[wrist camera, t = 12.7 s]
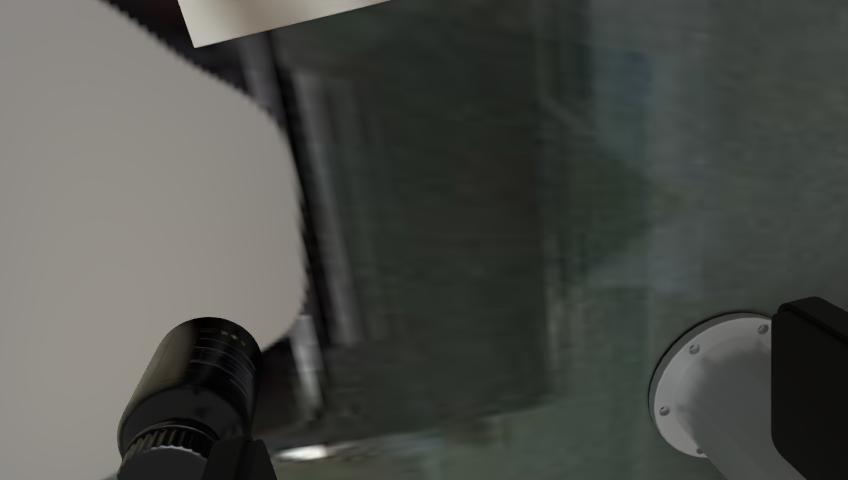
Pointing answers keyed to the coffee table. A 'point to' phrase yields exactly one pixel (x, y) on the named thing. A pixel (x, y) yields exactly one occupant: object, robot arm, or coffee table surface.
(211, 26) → the base board
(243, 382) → the supplement bottle
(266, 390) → the coffee table surface
